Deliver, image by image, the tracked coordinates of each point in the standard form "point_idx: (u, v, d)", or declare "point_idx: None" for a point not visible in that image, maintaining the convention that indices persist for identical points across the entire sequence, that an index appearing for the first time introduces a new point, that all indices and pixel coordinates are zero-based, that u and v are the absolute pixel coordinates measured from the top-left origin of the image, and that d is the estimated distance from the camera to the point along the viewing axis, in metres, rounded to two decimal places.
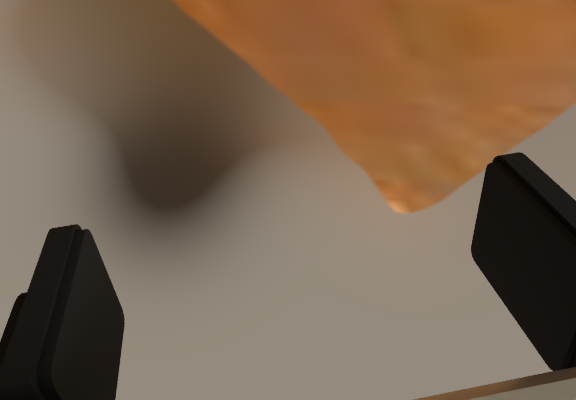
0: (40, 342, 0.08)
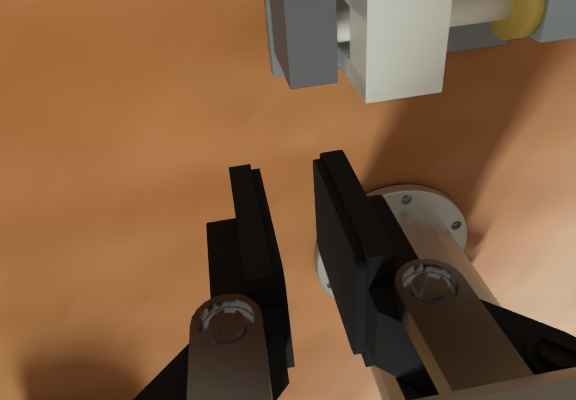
0: (267, 248, 0.09)
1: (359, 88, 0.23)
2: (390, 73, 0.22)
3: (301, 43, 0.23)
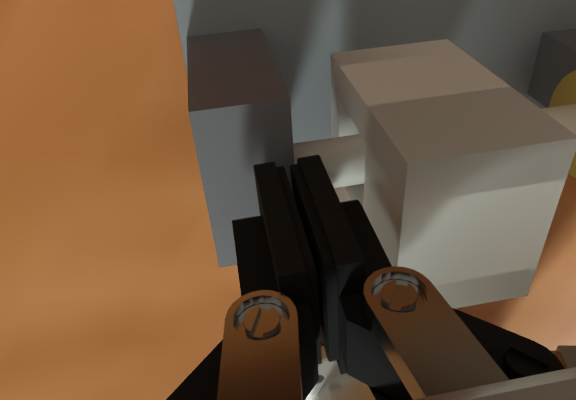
0: (298, 244, 0.09)
1: None
2: (440, 276, 0.12)
3: (233, 203, 0.13)
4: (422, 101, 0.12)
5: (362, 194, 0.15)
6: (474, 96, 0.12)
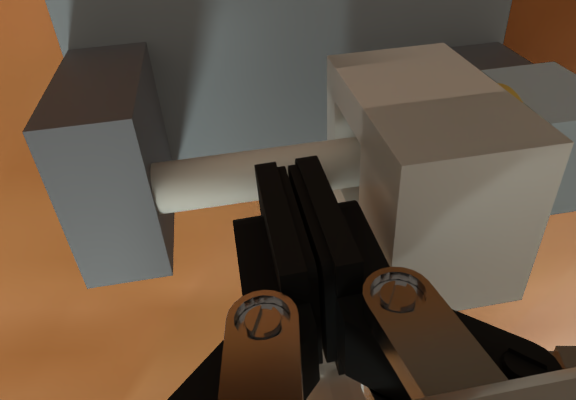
0: (300, 244, 0.09)
1: None
2: (434, 280, 0.12)
3: (89, 224, 0.13)
4: (417, 104, 0.12)
5: (357, 197, 0.15)
6: (469, 99, 0.12)
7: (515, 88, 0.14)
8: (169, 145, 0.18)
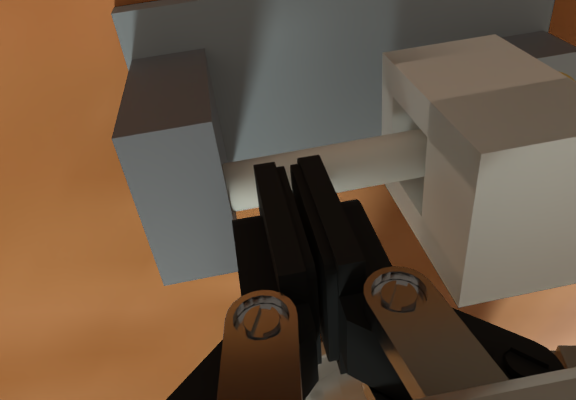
0: (298, 244, 0.09)
1: (443, 273, 0.13)
2: (506, 263, 0.12)
3: (168, 223, 0.13)
4: (483, 95, 0.12)
5: (417, 188, 0.15)
6: (533, 88, 0.12)
7: (571, 75, 0.14)
8: (225, 147, 0.19)
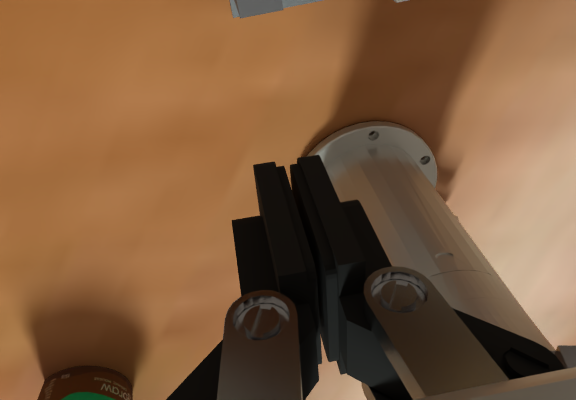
0: (298, 244, 0.09)
1: None
2: None
3: None
4: None
5: None
6: None
7: None
8: None
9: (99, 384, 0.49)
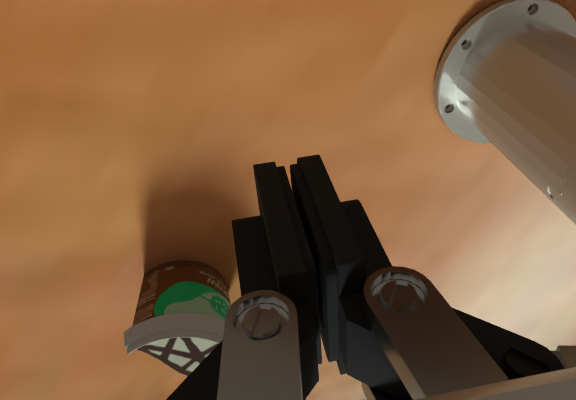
0: (298, 244, 0.09)
1: None
2: None
3: None
4: None
5: None
6: None
7: None
8: None
9: (205, 277, 0.47)
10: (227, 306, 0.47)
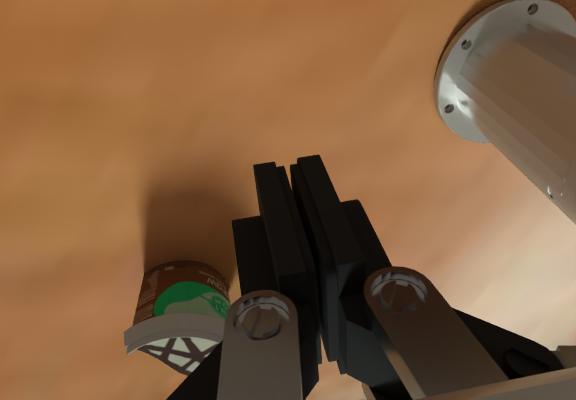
0: (298, 244, 0.09)
1: None
2: None
3: None
4: None
5: None
6: None
7: None
8: None
9: (205, 277, 0.47)
10: (227, 306, 0.47)
